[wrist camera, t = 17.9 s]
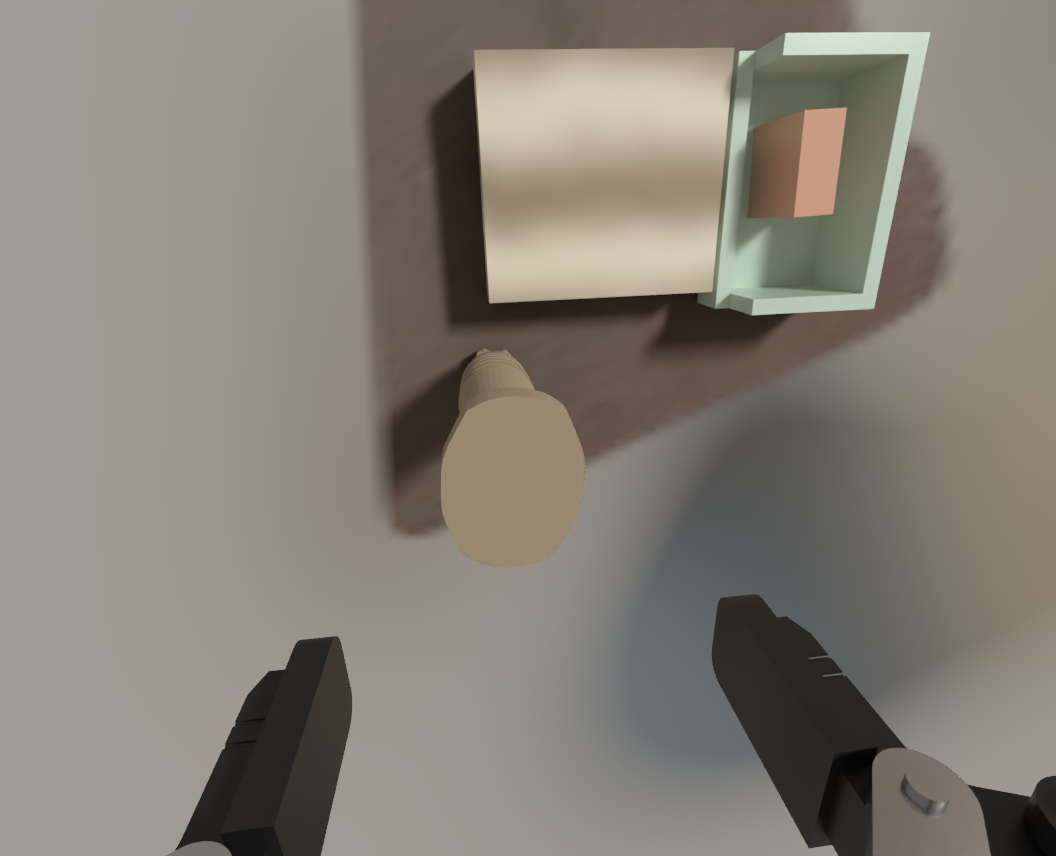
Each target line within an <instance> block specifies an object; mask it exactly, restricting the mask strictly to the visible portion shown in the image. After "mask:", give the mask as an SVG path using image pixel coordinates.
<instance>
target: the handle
mask: <svg viewBox="0 0 1056 856" xmlns="http://www.w3.org/2000/svg"><path fill="white" fill-rule="evenodd" d="M458 403H459V413H460V414H459V416H458V418H457V420H456V422H455V424H454V426H453V428H452V430H451V432H450V434H449V436H448V438H447V441H446V443H445V445H444V448H443V454H442V465H441V504H442V513H443V516H444V518H445V521H446V524H447V526H448V528H449V530H450V532H451V534H452V536H453V537H454V539H455V541H456V543H457V545H458V546H459V548H460V550H461V552H462V553H463V555H464V556H466V557H468V558H470V559H472V560H474V561H476V562H479V563H481V564H485V565H491V566H498V567H516V566H524V565H529V564H534V563H537V562H539V561H542V560H544V559H546V558H548V557H550V556H552V555H554V554H555V553H556V551H557V550H558V548H559V547H560V545H561V544H562V542H563V541H564V539H565V538H566V536H567V535H568V533H569V531H570V530H571V528H572V527H573V525H574V523H575V521H576V519H577V517H578V515H579V512H580V508H581V503H582V497H583V488H584V480H585V458H584V454H583V450H582V447H581V444H580V441H579V439H578V436H577V434H576V431H575V429H574V426H573V424H572V421H571V419H570V417H569V414H568V412H567V410H566V409H565V407H564V405H563V404H562V403H560V402H559V401H557V400H556V399H555V398H553V397H551V396H549V395H548V394H546V393H544V392H540V391H537V390H534V387H533V385H532V383H531V380H530V378H529V376H528V375H527V373H526V371H525V370H524V369H523V367H522V366H521V365H520V363H518V362H517V361H516V360H515V359H514V358H513V357H511V354H510V353H509V352H508V351H506V350H504V349H500V350H498V351H490V350H487V349H485V348H483V349H481V350H479V351H477V354H476V357H475V358H474V359H472V361H471V362H470V363H469V364H468V366H467V367H466V369H465V371H464V373H463V376H462V379H461V384H460V389H459V402H458Z"/></svg>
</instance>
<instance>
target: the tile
mask: <svg viewBox="0 0 1056 856" xmlns="http://www.w3.org/2000/svg"><path fill="white" fill-rule="evenodd" d="M846 111H847V107H845V108H830V109H815V110H804V111H801V112H798V113H795V114H792V115H789V116H786V117H783V118H780V119H778V120H775V121H772V122H769V123H766V124H763V125H760V126H757V127H754V138H753V151H752V164H751V178H750V191H749V205H748V218H789V217H805V216H817V215H829V214H833V211H834V203H835V195H836V188H837V180H838V172H839V165H840V157H841V149H842V142H843V134H844V126H845V119H846Z"/></svg>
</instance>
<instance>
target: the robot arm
mask: <svg viewBox="0 0 1056 856" xmlns="http://www.w3.org/2000/svg"><path fill="white" fill-rule="evenodd" d="M712 662H713V667H714V671H715V675H716V678H717V680H718V682H719V684H720V686H721V688H722V690H723V691H724V693H725V695H726V697H727V699H728V701H729V703H730V704H731V706H732V708H733V710H734V712H735V714H736V715H737V717H738V719H739V721H740V722H741V725H742V726H743V728H744V730H745V732H746V734H747V735H748V737H749V739H750V741H751V743H752V745H753V747H754V748H755V750H756V752H757V754H758V756H759V757H760V759H761V761H762V763H763V765H764V767H765V769H766V770H767V772H768V774H769V776H770V778H771V779H772V781H773V783H774V785H775V787H776V789H777V791H778V792H779V794H780V796H781V798H782V800H783V801H784V803H785V805H786V807H787V809H788V811H789V812H790V814H791V816H792V818H793V820H794V821H795V823H796V825H797V827H798V829H799V831H800V833H801V835H802V836H803V838H804V840H805V842H806V844H807V845H808V847H809V848H813V847H820V846H827V845H833V847H834V849H835V850H836V852H837V854H838V856H1056V776H1051V777H1046V778H1044V779H1042V780H1040V781H1039V783H1038V784H1037V785H1036V788H1035V790H1034V792H1033V794H1032V796H1031V797H1028V796H1023V795H1017V794H1012V793H1007V792H1001V791H996V790H991V789H985V788H980V787H975V786H971V785H967V784H966V783H965V782H964V781H963V780H962V779H961V778H960V777H959V776H958V775H957V774H956V773H954V772H953V771H952V770H951V769H949V768H948V767H947V766H945V765H944V764H942V763H941V762H939V761H937V760H935V759H934V758H932V757H930V756H928V755H925V754H923V753H920V752H917V751H914V750H910V749H907V748H906V747H905V746H904V745H903V744H902V743H901V741H900V740H899V739H898V738H897V737H896V735H895V734H894V733H893V732H892V731H891V729H890V728H889V727H888V726H887V725H886V723H885V722H884V721H883V720H882V719H881V717H880V716H879V715H878V714H877V713H876V711H875V710H874V709H873V708H872V707H871V705H870V704H869V703H868V702H867V700H866V699H865V698H864V697H863V696H862V695H861V693H860V692H859V691H858V690H857V688H856V687H855V686H854V685H853V684H852V683H851V681H850V680H849V679H848V678H847V676H843V673H842V670H841V669H840V668H839V667H838V666H837V664H836V663H835V662H834V661H833V660H832V659H829V657H828V654H827V652H826V651H825V650H824V649H823V648H822V646H821V645H820V644H819V643H818V642H817V640H816V639H815V638H814V637H813V636H812V634H811V633H809V632H808V631H806V630H805V629H804V628H802V627H801V626H799V625H798V624H796V623H795V622H793V621H792V620H791V619H789V618H788V617H779V618H777V617H776V616H775V614H774V613H773V612H772V610H771V609H770V608H769V607H768V605H767V604H766V603H765V602H764V600H763V599H762V598H761V597H760V596H758V595H756V594H752V595H742V596H734V597H733V596H732V597H724V598H721V599H720V600H719V602H718V607H717V615H716V623H715V630H714V638H713V646H712ZM351 716H352V693H351V687H350V683H349V679H348V673H347V669H346V664H345V659H344V655H343V651H342V646H341V642H340V639H339V638H338V637H337V636H335V637H325V638H316V639H306V640H299V641H298V642H297V643H296V645H295V647H294V649H293V651H292V654H291V656H290V659H289V662H288V664H287V666H286V669H285V670H277V671H269V672H268V673H267V674H266V675H265V676H264V677H263V679H262V680H261V681H260V682H259V683H258V684H257V685H256V686H255V687H254V688H253V690H252V691H251V692H250V693H249V694H248V695H247V698H246V699H245V702H244V704H243V706H242V708H241V711H240V713H239V715H238V717H237V719H236V721H235V722H236V724H235V727H233V728H232V730H231V732H230V734H229V737H228V739H227V741H226V743H225V745H226V746H225V749H223V750H222V752H221V754H220V757H219V759H218V761H217V763H216V765H215V767H214V769H213V772H212V774H211V776H210V778H209V781H208V783H207V785H206V787H205V789H204V791H203V793H202V796H201V798H200V800H199V802H198V804H197V807H196V809H195V811H194V813H193V816H192V818H191V820H190V822H189V824H188V826H187V829H186V831H185V833H184V835H183V837H182V839H181V841H180V843H179V845H178V847H177V848H176V850H175V851H174V852H172V853H171V854H169V855H167V856H321V851H322V846H323V843H324V838H325V834H326V829H327V825H328V821H329V816H330V812H331V807H332V803H333V799H334V794H335V790H336V785H337V781H338V776H339V772H340V768H341V763H342V759H343V755H344V750H345V746H346V741H347V737H348V733H349V728H350V723H351Z"/></svg>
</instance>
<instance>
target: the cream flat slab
mask: <svg viewBox="0 0 1056 856" xmlns="http://www.w3.org/2000/svg"><path fill="white" fill-rule="evenodd" d="M733 58H734V48H654V49H534V50H474V61H473V74H474V90H475V106H476V122H477V138H478V154H479V170H480V186H481V202H482V219H483V235H484V251H485V267H486V283H487V297H488V300H489V303H506V302H525V301H545V300H564V299H584V298H604V297H623V296H643V295H662V294H682V293H702V292H712V288H713V277H714V266H715V255H716V244H717V234H718V223H719V212H720V201H721V190H722V179H723V168H724V157H725V146H726V135H727V124H728V113H729V102H730V91H731V80H732V69H733Z"/></svg>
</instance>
